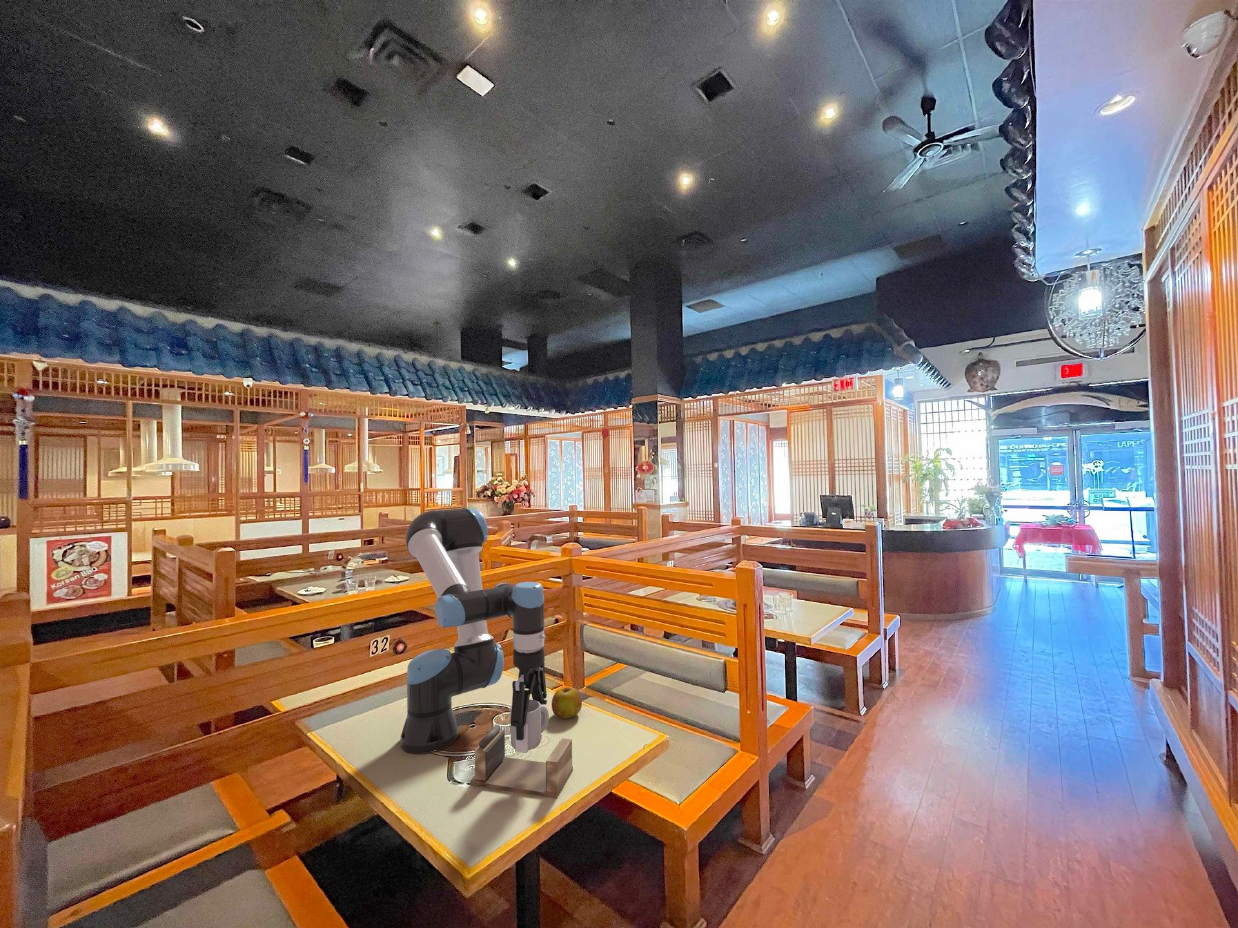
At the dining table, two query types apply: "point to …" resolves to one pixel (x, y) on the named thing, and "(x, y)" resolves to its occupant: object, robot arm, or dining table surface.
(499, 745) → the block
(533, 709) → the cup
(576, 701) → the fruit
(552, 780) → the base
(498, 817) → the dining table surface
